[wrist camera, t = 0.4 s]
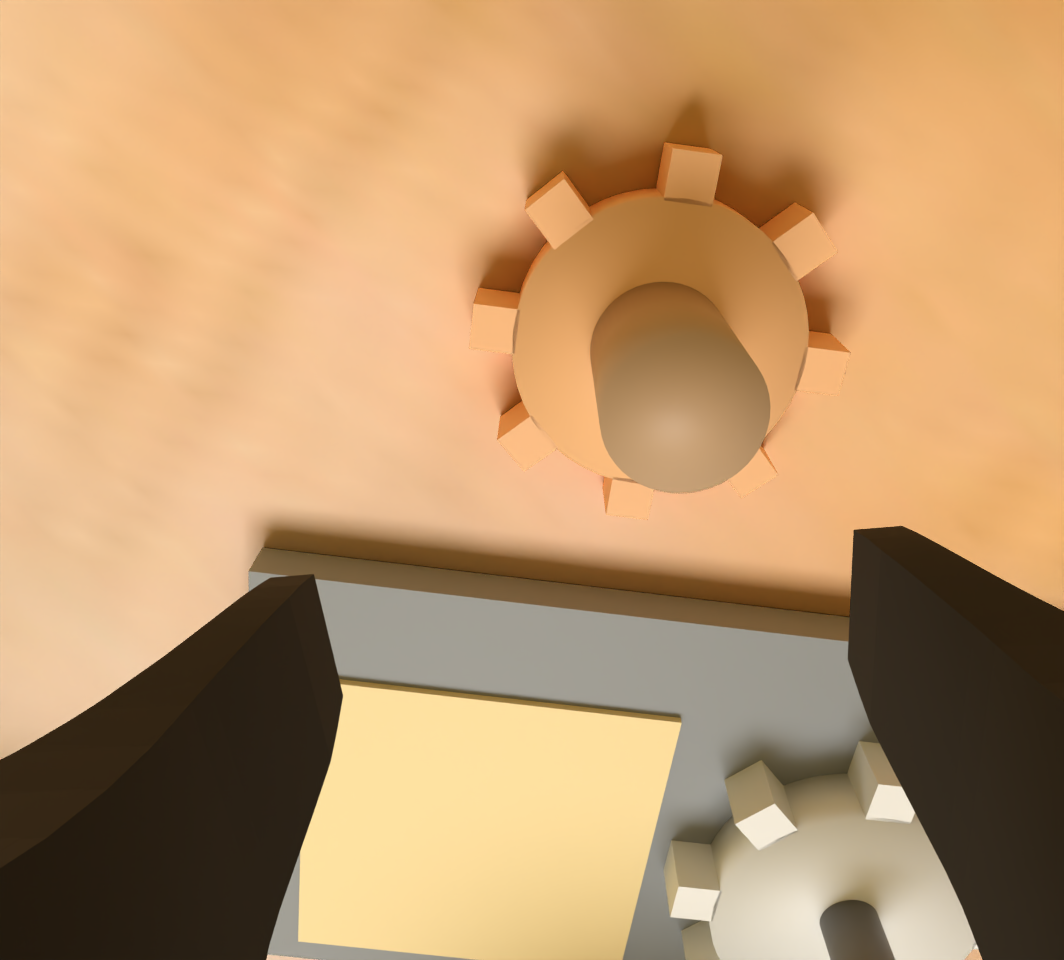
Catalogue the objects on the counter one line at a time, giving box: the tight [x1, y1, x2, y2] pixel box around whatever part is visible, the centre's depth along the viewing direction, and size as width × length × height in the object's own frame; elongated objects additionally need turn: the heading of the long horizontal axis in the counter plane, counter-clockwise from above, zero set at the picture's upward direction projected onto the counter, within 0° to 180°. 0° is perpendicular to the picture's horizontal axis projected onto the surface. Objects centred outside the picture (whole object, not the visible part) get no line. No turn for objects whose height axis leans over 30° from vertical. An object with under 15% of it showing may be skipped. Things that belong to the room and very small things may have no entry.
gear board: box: [249, 548, 978, 960], centre depth 24 cm, size 22×14×6 cm, turn 83°
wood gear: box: [469, 142, 851, 520], centre depth 18 cm, size 8×8×6 cm
